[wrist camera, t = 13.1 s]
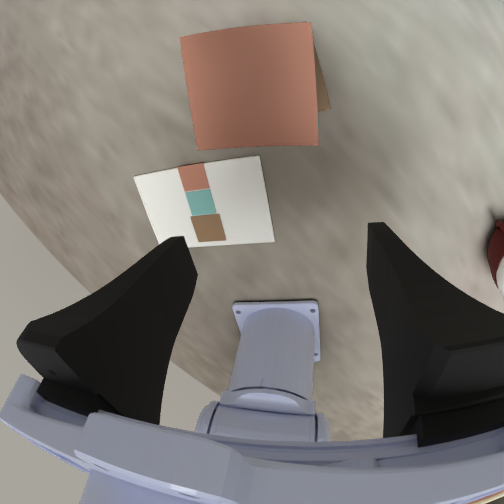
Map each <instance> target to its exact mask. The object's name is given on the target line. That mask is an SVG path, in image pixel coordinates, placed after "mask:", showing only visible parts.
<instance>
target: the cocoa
mask: <svg viewBox="0 0 504 504" xmlns="http://www.w3.org/2000/svg"><path fill="white" fill-rule="evenodd" d="M496 227H497V229H496V230H495V232H494V234H493V236H492V237H491V239H490V242H489V247H488V253H487V258H488V262H489V266H490V270H491V273H492V277H493V280H494V282H495V284H496V286H497V288H499V290H500V291H501V293H502V295H503V297H504V223H503V222H502V220H500V219H499V220H498V221H497V222H496Z"/></svg>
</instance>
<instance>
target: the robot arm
mask: <svg viewBox="0 0 504 504" xmlns="http://www.w3.org/2000/svg"><path fill="white" fill-rule="evenodd" d="M366 268H367V276H368V284H369V291H370V295H371V299H372V303H373V308H374V312H375V317H376V321H377V326H378V330H379V335H380V341H381V348H382V360H383V378H384V429H383V438H380V439H369V440H354V441H330V425H329V421H328V420H327V419H326V418H325V416H324V414H323V413H315V407H316V402H315V401H312V392H313V374H314V362H317V361H319V360H320V331H319V310H318V303H317V302H316V301H313V300H312V301H283V302H236V303H234V304H233V306H232V309H233V312H234V315H235V318H236V321H237V324H238V327H239V330H240V333H241V337H240V341H239V345H238V350H237V354H236V358H235V362H234V366H233V371H232V375H231V379H230V383H229V387H228V391H222V395H221V400H220V402H218V401H212V402H211V403H209V404H208V405H207V406H205V407H204V408H203V410H202V412H201V413H200V416H199V419H198V421H197V425H196V428H195V432H192V431H186V430H181V429H175V428H170V427H165V426H161V425H159V423H160V412H161V403H162V397H163V390H164V384H165V379H166V374H167V369H168V365H169V361H170V357H171V353H172V349H173V345H174V342H175V339H176V337H177V334H178V332H179V329H180V327H181V324H182V322H183V319H184V317H185V314H186V312H187V309H188V307H189V304H190V301H191V299H192V296H193V293H194V289H195V285H196V280H197V276H198V274H197V271H196V268H195V265H194V263H193V260H192V257H191V255H190V252H189V249H188V246H187V244H186V241H185V238H184V236H175V237H170V238H168V239H166V240H165V241H163V242H162V243H161V244H159V245H158V246H157V247H155V248H154V249H153V250H152V251H150V252H149V253H148V254H146V255H145V256H144V257H143V258H141V259H140V260H139V261H138V262H136V263H135V264H134V265H133V266H131V267H130V268H129V269H127V270H126V271H125V272H123V273H122V274H121V275H119V276H118V277H117V278H115V279H114V280H113V281H111V282H110V283H108V284H107V285H105V286H104V287H102V288H100V289H99V290H97V291H96V292H94V293H92V294H91V295H89V296H87V297H85V298H83V299H82V300H80V301H78V302H76V303H74V304H72V305H70V306H68V307H66V308H64V309H62V310H60V311H57V312H55V313H53V314H50V315H48V316H45V317H42V318H39V319H37V320H34V321H31V322H30V323H29V324H28V325H27V326H26V328H25V329H24V331H23V332H22V333H21V335H20V336H19V338H18V339H17V347H18V349H19V351H20V353H21V354H22V355H23V356H24V358H25V359H26V360H27V361H28V362H29V363H30V364H31V365H32V366H33V367H34V368H35V370H36V371H37V372H38V373H39V374H40V375H42V377H44V378H43V380H42V382H41V383H40V382H39V381H37V380H35V379H33V378H31V377H28V376H26V375H24V374H21V375H20V377H19V378H18V380H17V382H16V384H15V386H14V388H13V389H12V391H11V393H10V395H9V397H8V398H7V401H6V402H5V404H4V406H3V408H2V410H1V412H0V420H1V421H3V422H4V423H5V424H6V425H8V426H9V427H10V428H12V429H13V430H15V431H16V432H17V433H19V434H20V435H22V436H23V437H24V438H26V439H27V440H29V441H30V442H32V443H33V444H35V445H36V446H38V447H40V448H41V449H43V450H45V451H46V452H48V453H50V454H51V455H53V456H55V457H57V458H59V459H60V460H62V461H65V462H66V463H68V464H70V465H72V466H74V467H76V468H78V469H80V470H82V471H84V472H86V473H88V474H89V477H88V480H87V483H86V486H85V488H84V491H83V494H82V497H81V500H80V503H79V504H466V503H469V502H472V501H475V500H478V499H481V498H484V497H486V496H489V495H492V494H495V493H497V492H500V491H502V490H504V314H503V313H501V312H499V311H496V310H494V309H492V308H490V307H488V306H487V305H485V304H483V303H481V302H479V301H477V300H476V299H474V298H472V297H471V296H469V295H467V294H466V293H464V292H463V291H461V290H460V289H458V288H457V287H455V286H454V285H452V284H451V283H449V282H448V281H447V280H445V279H444V278H443V277H441V276H440V275H439V274H438V273H436V272H435V271H434V270H433V269H431V268H430V267H429V266H428V265H427V264H426V263H424V262H423V261H422V260H421V259H420V258H419V257H418V256H417V255H416V254H415V253H414V252H412V251H411V250H410V249H409V248H408V247H407V246H406V245H405V244H404V243H403V241H402V240H401V239H400V238H399V237H398V236H397V235H396V234H395V233H394V232H393V231H392V230H391V229H390V228H389V227H388V226H387V225H386V224H385V223H384V222H376V223H368V242H367V265H366ZM312 309H314V310H312Z"/></svg>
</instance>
